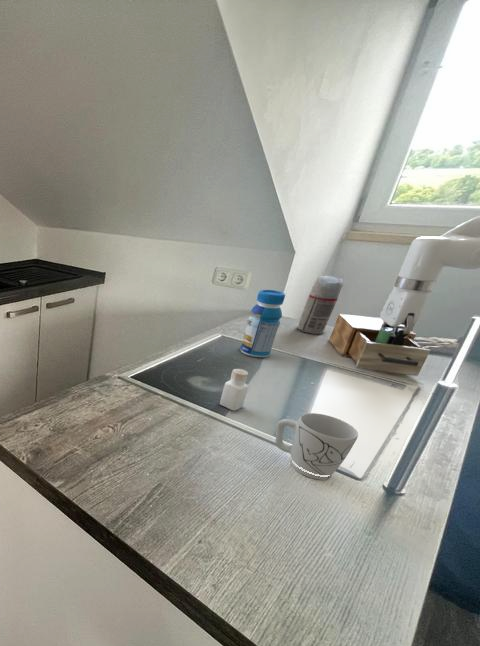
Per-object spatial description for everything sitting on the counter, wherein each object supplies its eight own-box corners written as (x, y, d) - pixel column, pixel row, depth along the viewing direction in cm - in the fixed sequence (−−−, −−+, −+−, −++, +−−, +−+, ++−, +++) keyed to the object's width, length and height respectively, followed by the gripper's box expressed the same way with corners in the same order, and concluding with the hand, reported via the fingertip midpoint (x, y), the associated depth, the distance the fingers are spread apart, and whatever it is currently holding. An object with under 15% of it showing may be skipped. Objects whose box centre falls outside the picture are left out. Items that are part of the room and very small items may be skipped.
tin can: (394, 347, 114) (402, 328, 112) (402, 354, 110) (411, 335, 107) (369, 344, 116) (377, 326, 114) (376, 351, 112) (384, 332, 109)
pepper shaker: (243, 407, 95) (253, 372, 91) (233, 412, 93) (244, 376, 89) (227, 400, 98) (236, 366, 94) (218, 404, 96) (227, 370, 92)
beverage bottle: (263, 360, 119) (283, 297, 111) (234, 352, 125) (251, 291, 117) (274, 353, 124) (293, 292, 116) (245, 345, 130) (262, 287, 122)
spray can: (323, 329, 144) (343, 276, 135) (325, 336, 138) (346, 280, 129) (295, 325, 148) (313, 273, 140) (296, 332, 142) (315, 277, 133)
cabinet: (402, 364, 117) (416, 334, 113) (341, 355, 122) (353, 327, 118) (383, 347, 129) (395, 319, 125) (329, 340, 134) (339, 313, 130)
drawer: (425, 383, 104) (439, 356, 100) (362, 374, 109) (373, 348, 106) (397, 357, 118) (408, 334, 115) (342, 350, 124) (351, 327, 120)
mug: (259, 458, 77) (274, 416, 73) (276, 442, 82) (291, 402, 78) (329, 491, 69) (350, 445, 65) (344, 471, 74) (364, 427, 69)
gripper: (383, 277, 113) (360, 334, 121) (409, 290, 99) (381, 355, 107) (417, 279, 111) (391, 338, 118) (449, 293, 96) (417, 359, 104)
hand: (387, 345), depth 112 cm, fingers closed on tin can, 5 cm apart
